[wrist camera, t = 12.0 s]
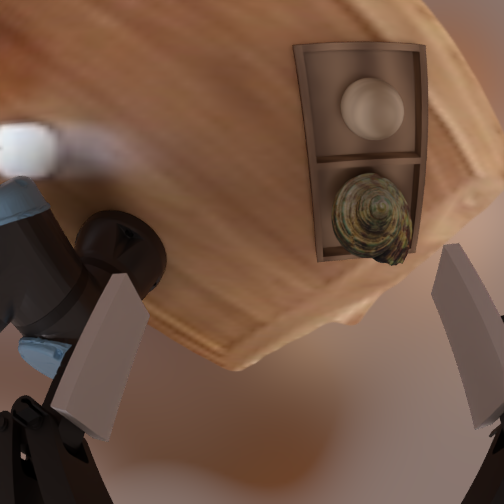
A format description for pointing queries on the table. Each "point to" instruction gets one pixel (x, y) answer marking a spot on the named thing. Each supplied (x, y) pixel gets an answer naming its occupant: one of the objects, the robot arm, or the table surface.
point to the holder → (351, 145)
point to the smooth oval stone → (372, 109)
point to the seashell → (372, 219)
